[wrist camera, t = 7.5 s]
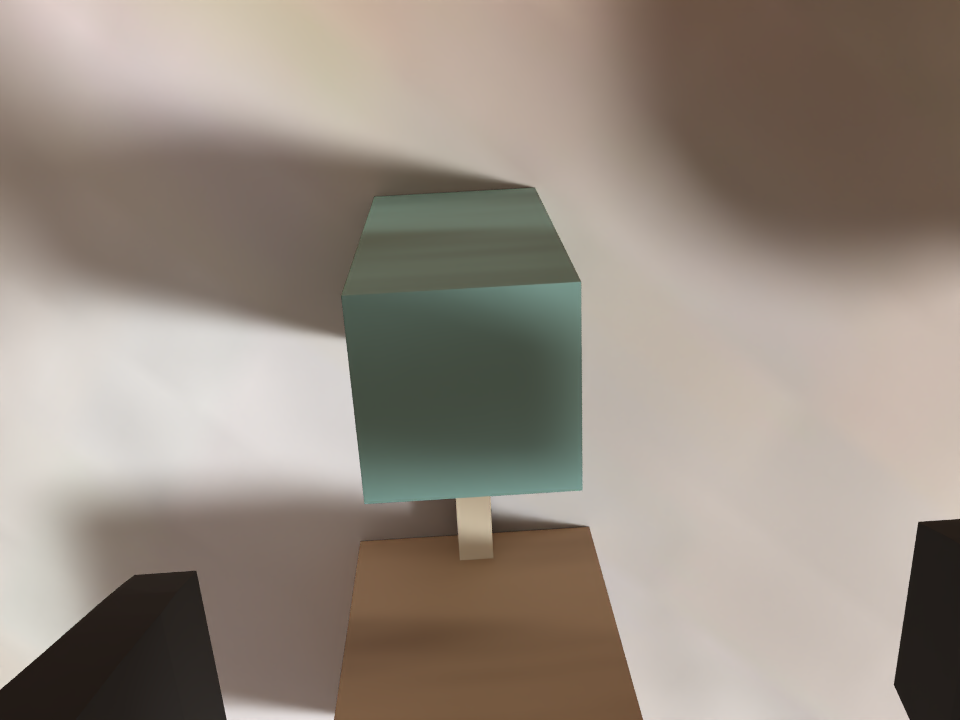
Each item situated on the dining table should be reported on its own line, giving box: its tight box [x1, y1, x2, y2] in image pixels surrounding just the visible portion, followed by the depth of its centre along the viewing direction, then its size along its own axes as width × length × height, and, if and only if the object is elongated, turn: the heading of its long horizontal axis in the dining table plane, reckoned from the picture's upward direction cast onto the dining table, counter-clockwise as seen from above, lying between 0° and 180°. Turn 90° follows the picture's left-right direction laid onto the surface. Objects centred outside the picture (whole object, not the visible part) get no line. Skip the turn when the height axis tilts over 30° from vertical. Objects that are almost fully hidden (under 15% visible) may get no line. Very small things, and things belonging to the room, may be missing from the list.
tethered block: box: [334, 188, 643, 720], centre depth 16 cm, size 12×5×6 cm, turn 3°
